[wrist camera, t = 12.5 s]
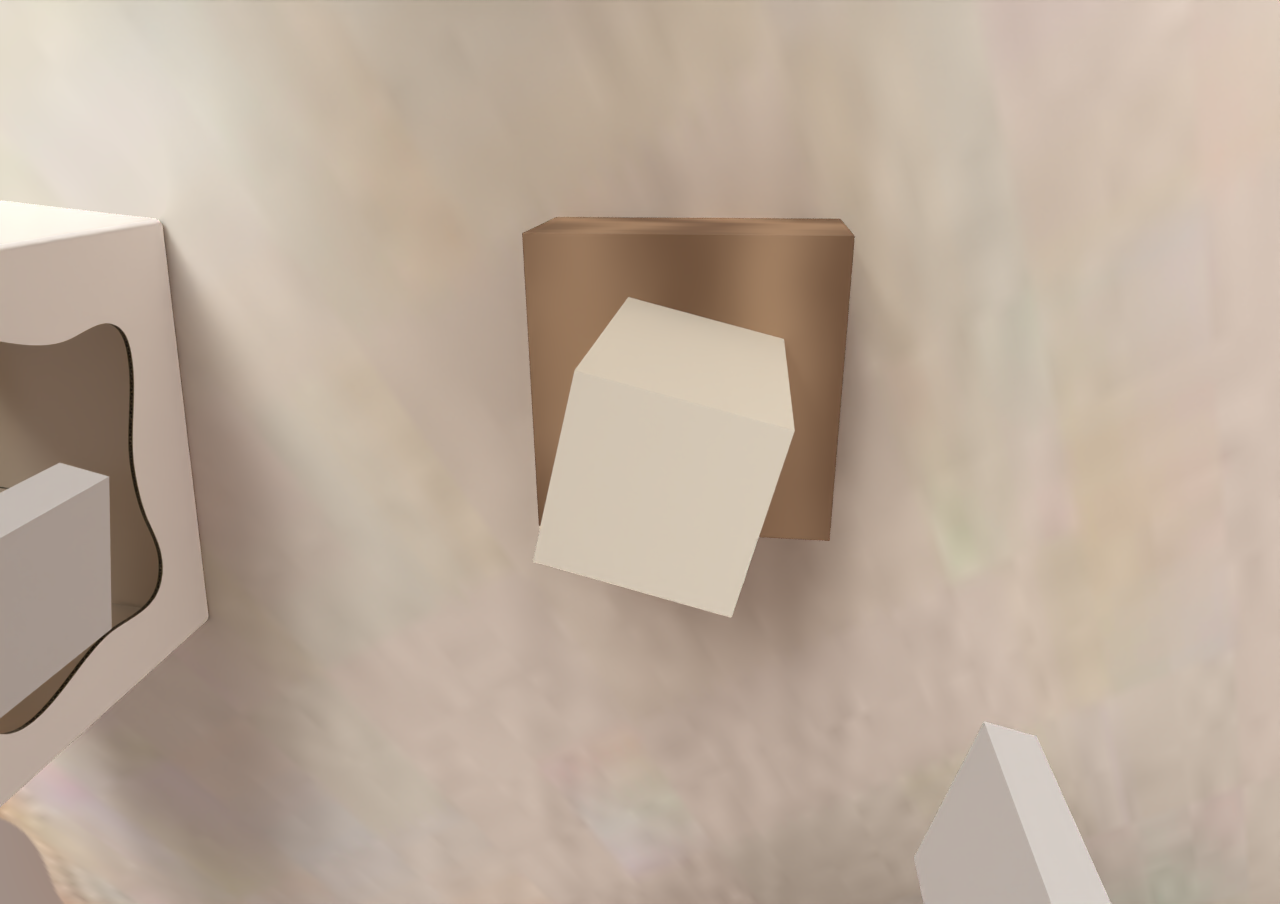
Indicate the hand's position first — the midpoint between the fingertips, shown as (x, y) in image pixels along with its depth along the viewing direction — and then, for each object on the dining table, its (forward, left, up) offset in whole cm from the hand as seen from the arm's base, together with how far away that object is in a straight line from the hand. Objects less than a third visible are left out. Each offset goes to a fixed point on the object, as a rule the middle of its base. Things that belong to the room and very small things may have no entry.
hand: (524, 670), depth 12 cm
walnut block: (+1, -2, -27) cm, 27 cm away
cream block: (+1, -2, -21) cm, 21 cm away
